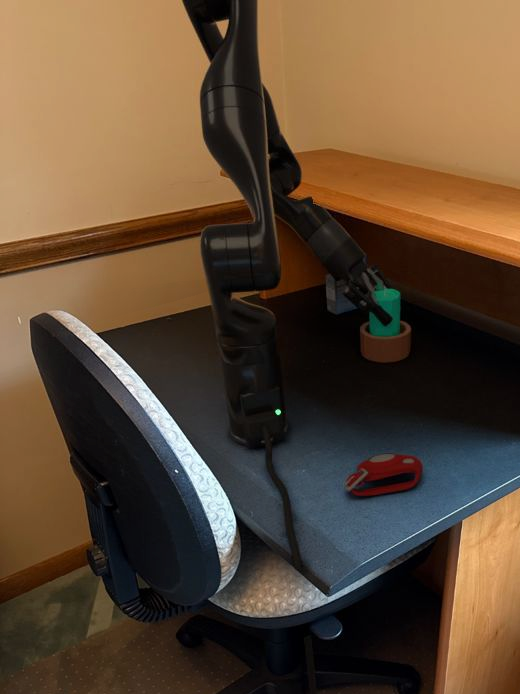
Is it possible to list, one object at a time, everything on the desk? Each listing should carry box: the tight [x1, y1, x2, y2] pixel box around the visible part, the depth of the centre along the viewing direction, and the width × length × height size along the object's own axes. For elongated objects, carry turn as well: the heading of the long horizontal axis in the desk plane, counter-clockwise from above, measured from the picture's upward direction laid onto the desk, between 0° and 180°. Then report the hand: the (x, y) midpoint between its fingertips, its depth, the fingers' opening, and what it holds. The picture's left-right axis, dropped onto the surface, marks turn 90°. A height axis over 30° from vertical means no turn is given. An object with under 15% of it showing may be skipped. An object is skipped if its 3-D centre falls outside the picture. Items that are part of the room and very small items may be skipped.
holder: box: [359, 320, 412, 363], centre depth 133 cm, size 10×10×5 cm
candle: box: [368, 288, 401, 337], centre depth 131 cm, size 6×6×12 cm
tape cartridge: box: [325, 252, 367, 316], centre depth 151 cm, size 9×4×12 cm, turn 126°
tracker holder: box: [343, 452, 424, 497], centre depth 97 cm, size 12×4×10 cm
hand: (393, 317), depth 130 cm, fingers closed on candle, 4 cm apart
